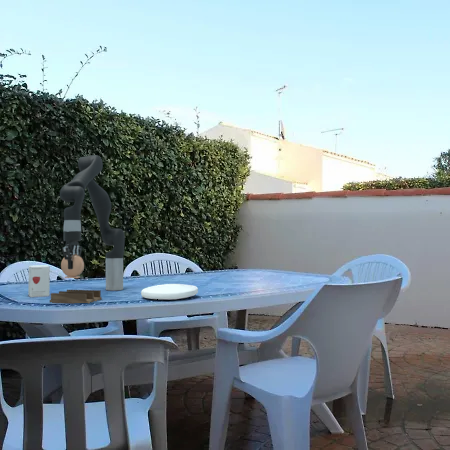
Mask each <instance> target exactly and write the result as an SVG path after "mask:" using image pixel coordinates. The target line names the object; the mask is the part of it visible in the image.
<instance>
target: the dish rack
mask: <svg viewBox="0 0 450 450" xmlns="http://www.w3.org/2000/svg"><path fill="white" fill-rule="evenodd" d="M101 294H102V293H101V290H99V289H98V290H97V289H96V290H95V289H94V290H93V289H66V291H65V290H64V291H62V290H60V291H58V292H51V293H50V299H49V303H50V302H52V304H74V303H88V304H91V303H95V302H98V301H101V300H102V299H103V297H102V295H101ZM97 300H98V301H97ZM94 301H95V302H94ZM90 302H91V303H90Z"/></svg>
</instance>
